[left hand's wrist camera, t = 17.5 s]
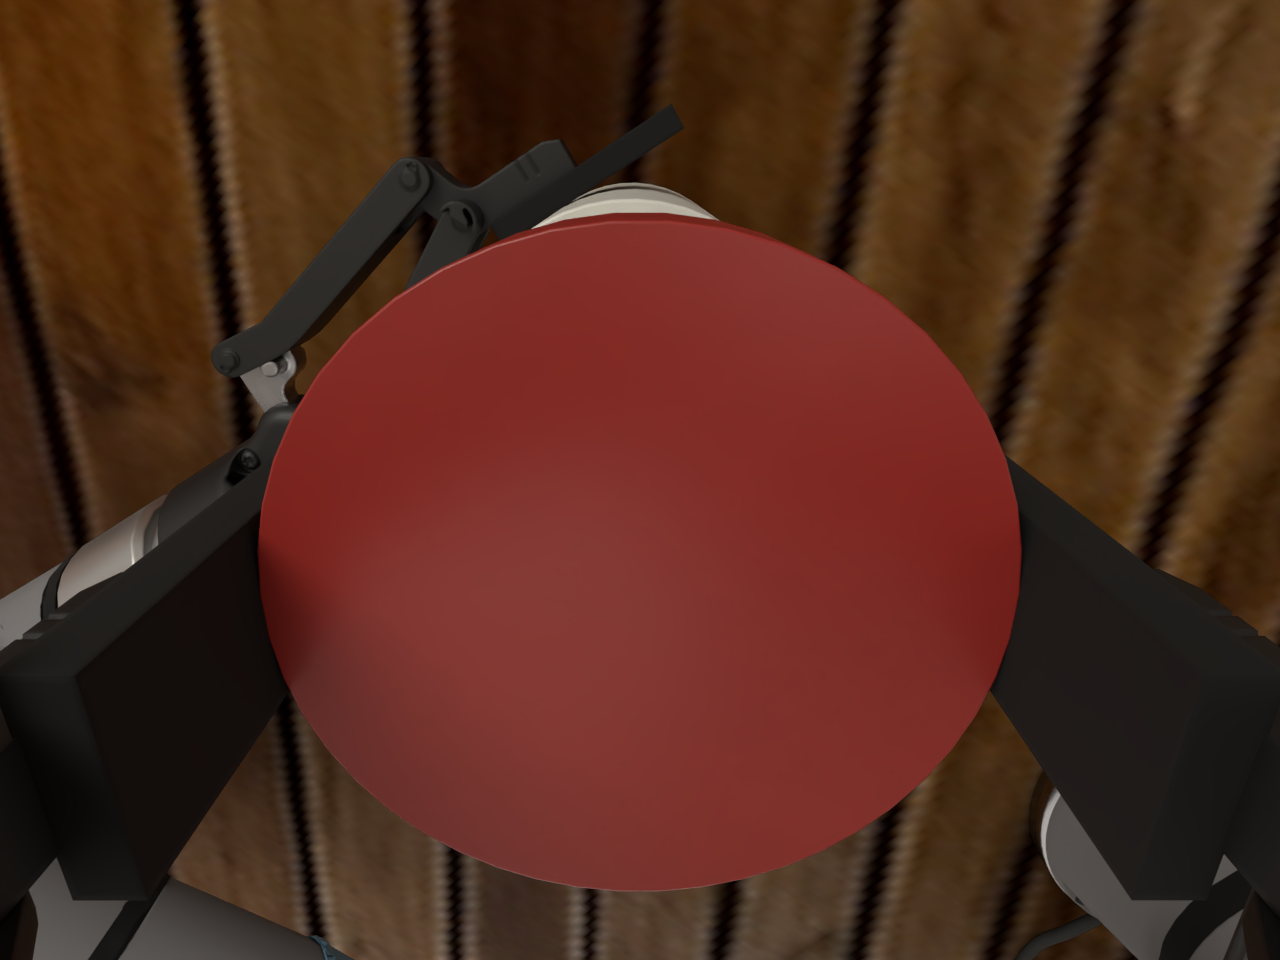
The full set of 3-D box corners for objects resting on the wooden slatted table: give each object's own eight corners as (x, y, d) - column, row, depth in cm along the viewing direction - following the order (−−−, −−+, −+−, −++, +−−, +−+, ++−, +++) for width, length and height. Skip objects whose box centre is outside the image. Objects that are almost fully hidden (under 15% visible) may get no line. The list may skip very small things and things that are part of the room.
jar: (783, 262, 32) (900, 341, 18) (665, 439, 34) (686, 624, 21) (593, 135, 30) (559, 114, 16) (485, 334, 33) (377, 461, 19)
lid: (237, 238, 10) (156, 251, 8) (1001, 185, 10) (1075, 188, 8) (380, 817, 14) (344, 907, 12) (940, 789, 14) (983, 877, 12)
